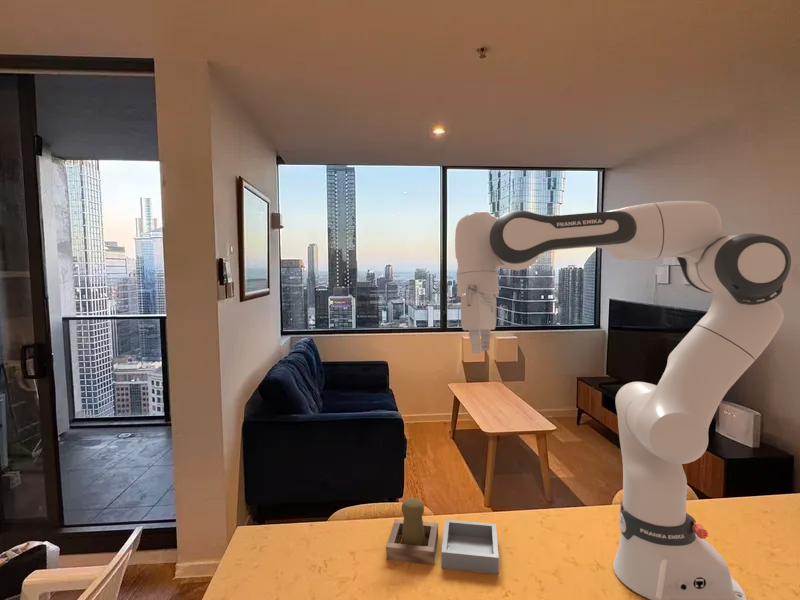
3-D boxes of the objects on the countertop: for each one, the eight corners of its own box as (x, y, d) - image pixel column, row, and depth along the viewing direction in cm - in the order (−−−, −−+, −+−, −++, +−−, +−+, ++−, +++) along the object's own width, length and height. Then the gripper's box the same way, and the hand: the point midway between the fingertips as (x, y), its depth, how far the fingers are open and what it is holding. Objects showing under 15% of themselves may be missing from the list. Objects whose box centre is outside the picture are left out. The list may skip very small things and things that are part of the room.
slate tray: (495, 538, 99) (495, 523, 99) (498, 574, 88) (498, 557, 87) (445, 533, 102) (445, 519, 101) (441, 568, 90) (441, 552, 90)
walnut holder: (438, 534, 101) (438, 522, 101) (434, 564, 91) (433, 551, 91) (395, 530, 103) (395, 519, 103) (386, 559, 93) (386, 546, 92)
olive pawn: (424, 557, 93) (423, 509, 93) (398, 553, 95) (397, 507, 94) (428, 540, 99) (427, 495, 99) (403, 537, 101) (402, 493, 100)
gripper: (483, 281, 80) (487, 354, 79) (499, 290, 99) (503, 349, 98) (451, 284, 82) (455, 354, 81) (473, 292, 101) (476, 349, 100)
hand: (481, 351), depth 89 cm, fingers open, 8 cm apart
